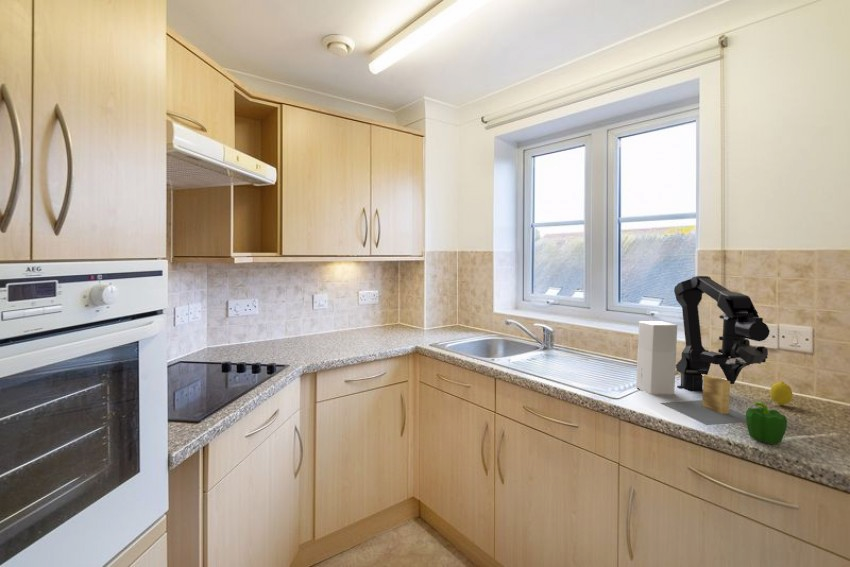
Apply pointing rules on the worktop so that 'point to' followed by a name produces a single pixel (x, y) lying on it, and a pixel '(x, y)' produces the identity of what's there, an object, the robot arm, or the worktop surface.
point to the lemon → (781, 393)
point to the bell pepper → (765, 424)
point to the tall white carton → (656, 357)
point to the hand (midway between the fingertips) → (731, 383)
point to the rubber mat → (705, 413)
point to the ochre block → (716, 394)
